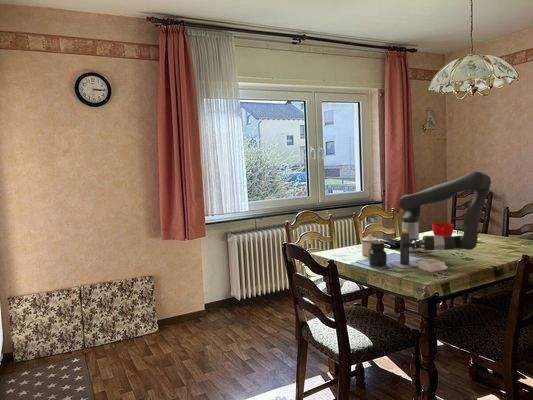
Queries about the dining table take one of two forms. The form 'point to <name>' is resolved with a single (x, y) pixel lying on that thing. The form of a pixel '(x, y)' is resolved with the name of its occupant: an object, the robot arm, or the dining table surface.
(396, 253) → the dining table surface
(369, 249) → the teacup with lid
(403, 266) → the grey felt mat
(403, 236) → the black cable stub
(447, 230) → the ceramic cup
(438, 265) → the square ring with handle
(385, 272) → the dining table surface
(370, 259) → the ink bottle
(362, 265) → the dining table surface
